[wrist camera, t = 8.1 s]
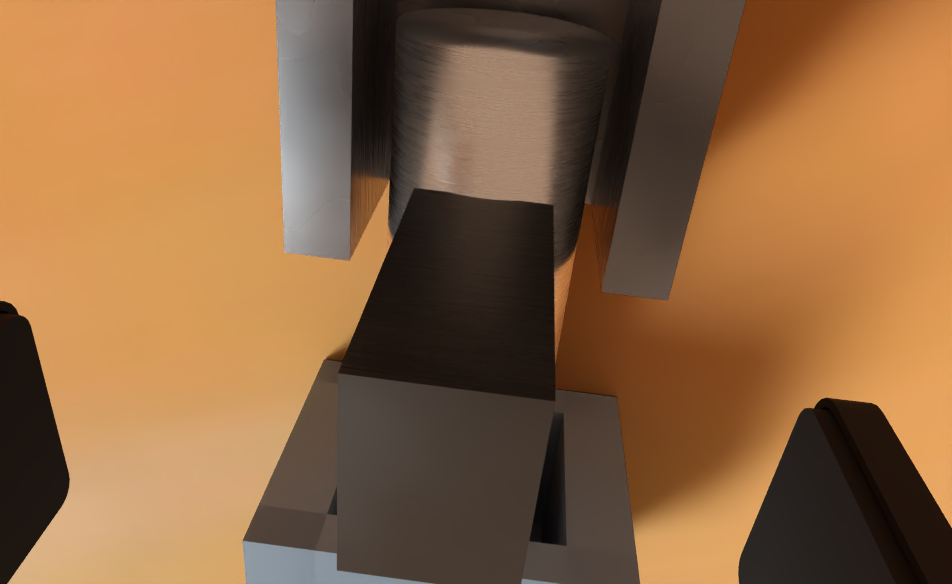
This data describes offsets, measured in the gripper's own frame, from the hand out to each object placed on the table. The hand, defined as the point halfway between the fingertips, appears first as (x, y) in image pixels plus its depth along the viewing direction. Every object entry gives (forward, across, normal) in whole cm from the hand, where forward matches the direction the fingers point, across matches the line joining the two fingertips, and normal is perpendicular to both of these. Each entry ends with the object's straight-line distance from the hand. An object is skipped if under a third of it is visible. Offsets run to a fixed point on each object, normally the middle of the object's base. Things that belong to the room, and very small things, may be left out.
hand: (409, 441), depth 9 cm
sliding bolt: (+8, -1, +3) cm, 9 cm away
